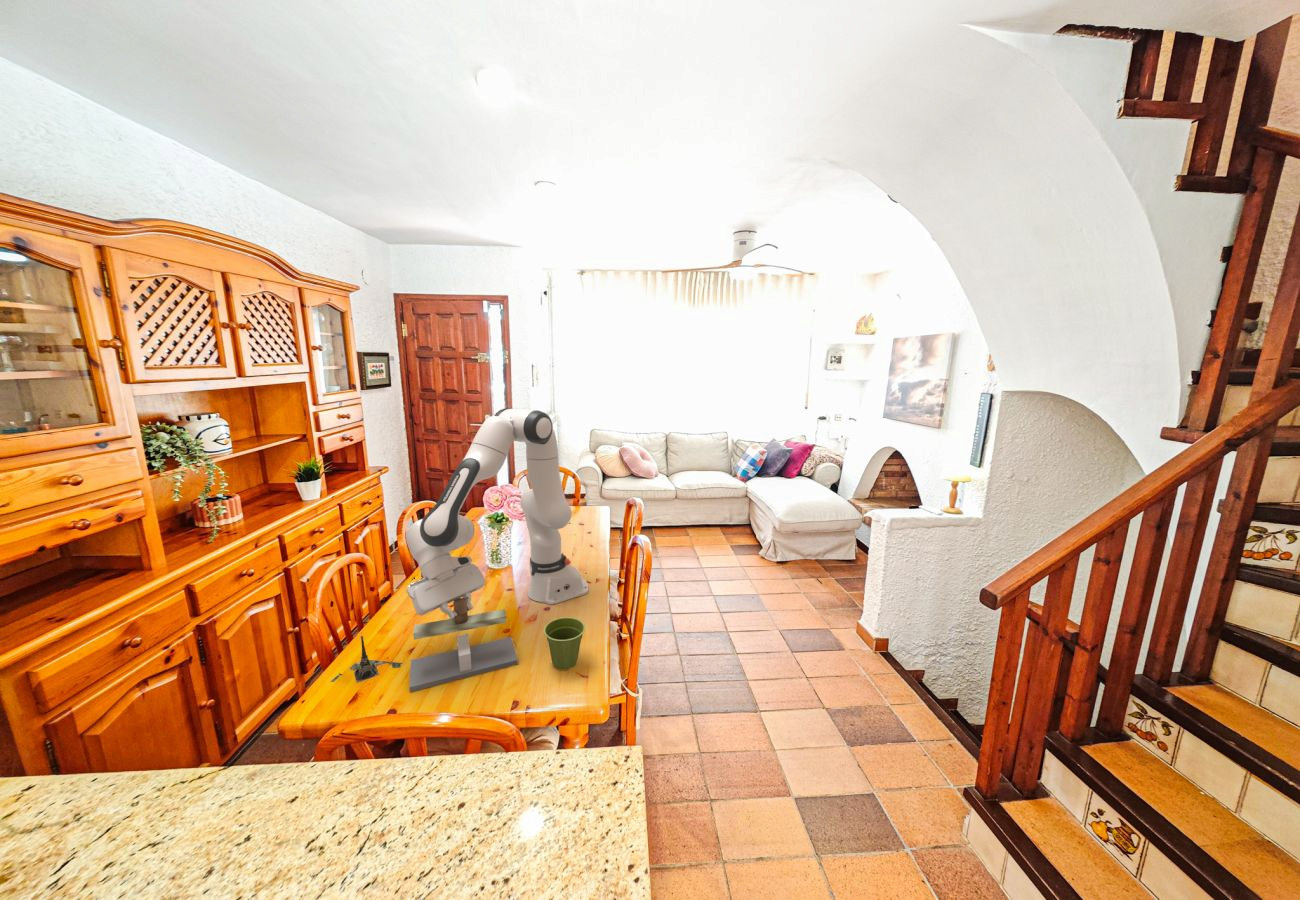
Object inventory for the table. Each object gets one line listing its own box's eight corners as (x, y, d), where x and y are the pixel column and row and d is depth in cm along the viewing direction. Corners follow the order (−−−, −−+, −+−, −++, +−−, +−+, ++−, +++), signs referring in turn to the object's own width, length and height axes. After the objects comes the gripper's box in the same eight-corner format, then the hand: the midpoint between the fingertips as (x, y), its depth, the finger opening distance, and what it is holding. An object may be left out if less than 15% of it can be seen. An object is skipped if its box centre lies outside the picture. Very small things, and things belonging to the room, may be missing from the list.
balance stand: (511, 640, 144) (510, 622, 143) (518, 664, 134) (517, 644, 132) (411, 664, 132) (409, 644, 131) (409, 692, 122) (407, 670, 120)
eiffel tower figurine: (404, 664, 133) (400, 623, 130) (381, 689, 123) (376, 645, 121) (356, 660, 135) (351, 619, 132) (329, 684, 125) (323, 640, 122)
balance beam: (505, 615, 137) (504, 590, 135) (506, 622, 133) (505, 597, 132) (415, 631, 128) (412, 605, 126) (413, 639, 124) (411, 613, 122)
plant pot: (588, 672, 131) (588, 637, 129) (545, 679, 128) (545, 643, 125) (582, 646, 142) (582, 614, 140) (543, 653, 139) (542, 619, 137)
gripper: (407, 580, 122) (430, 626, 119) (475, 554, 139) (497, 594, 136) (400, 590, 126) (422, 635, 122) (467, 564, 142) (488, 603, 139)
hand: (462, 613), depth 129 cm, fingers closed on balance beam, 3 cm apart
